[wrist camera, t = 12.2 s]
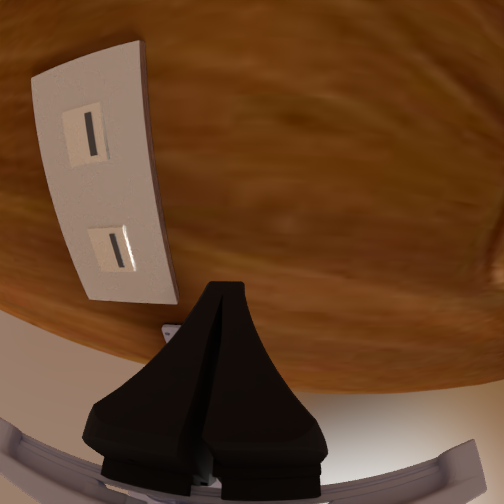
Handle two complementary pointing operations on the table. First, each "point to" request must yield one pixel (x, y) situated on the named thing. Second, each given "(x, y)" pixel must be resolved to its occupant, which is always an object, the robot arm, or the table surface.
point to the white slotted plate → (106, 174)
